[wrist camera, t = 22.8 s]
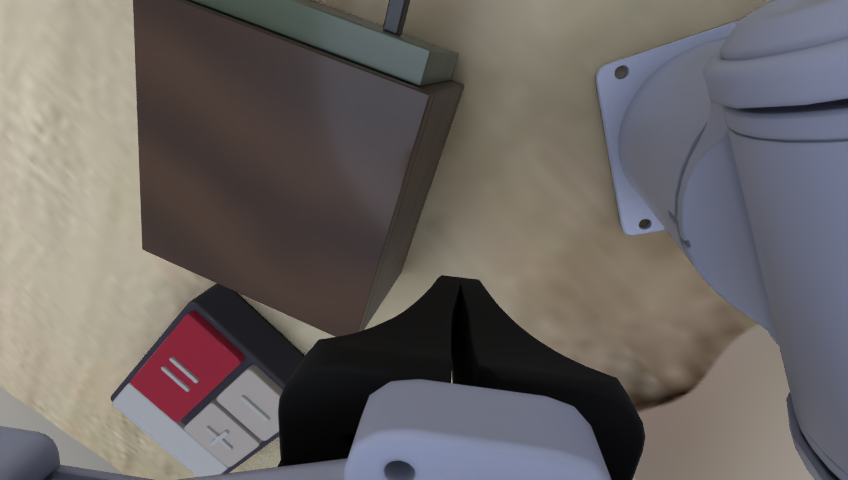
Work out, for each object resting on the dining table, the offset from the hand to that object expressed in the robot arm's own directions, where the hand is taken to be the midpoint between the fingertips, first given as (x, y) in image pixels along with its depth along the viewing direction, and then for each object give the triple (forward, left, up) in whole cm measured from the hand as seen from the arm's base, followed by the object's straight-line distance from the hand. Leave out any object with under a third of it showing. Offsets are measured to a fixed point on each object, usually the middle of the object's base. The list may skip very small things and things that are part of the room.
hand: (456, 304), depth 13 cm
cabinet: (+7, -5, -9) cm, 13 cm away
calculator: (+24, +9, -10) cm, 27 cm away
